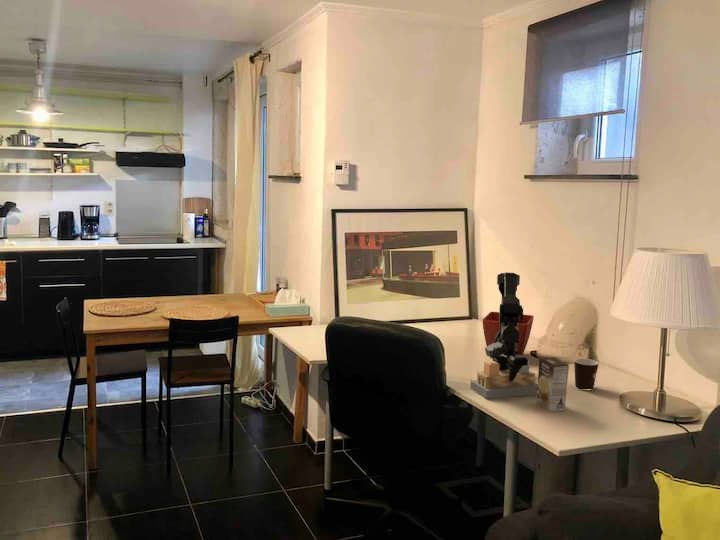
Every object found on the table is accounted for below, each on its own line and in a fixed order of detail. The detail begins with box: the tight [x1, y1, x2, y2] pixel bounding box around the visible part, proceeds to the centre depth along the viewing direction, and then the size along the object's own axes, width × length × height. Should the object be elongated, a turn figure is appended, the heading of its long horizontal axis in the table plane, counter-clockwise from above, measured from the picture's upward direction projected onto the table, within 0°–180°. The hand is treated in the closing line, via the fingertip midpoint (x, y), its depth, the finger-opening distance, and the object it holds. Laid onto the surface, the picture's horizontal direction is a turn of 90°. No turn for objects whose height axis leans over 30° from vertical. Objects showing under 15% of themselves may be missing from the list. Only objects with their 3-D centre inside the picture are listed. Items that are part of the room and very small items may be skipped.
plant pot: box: [481, 311, 534, 356], centre depth 296 cm, size 19×19×17 cm
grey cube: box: [518, 361, 531, 373], centre depth 249 cm, size 4×4×4 cm
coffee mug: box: [573, 358, 599, 390], centre depth 255 cm, size 12×9×10 cm
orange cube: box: [483, 360, 500, 376], centre depth 245 cm, size 4×4×4 cm
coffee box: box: [535, 356, 570, 412], centre depth 232 cm, size 9×6×16 cm
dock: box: [470, 379, 538, 400], centre depth 248 cm, size 22×12×3 cm, turn 108°
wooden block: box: [476, 369, 536, 388], centre depth 247 cm, size 20×6×4 cm, turn 108°
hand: (506, 378), depth 247 cm, fingers open, 7 cm apart
